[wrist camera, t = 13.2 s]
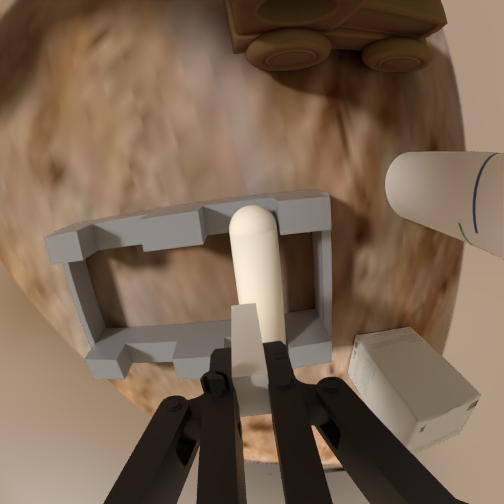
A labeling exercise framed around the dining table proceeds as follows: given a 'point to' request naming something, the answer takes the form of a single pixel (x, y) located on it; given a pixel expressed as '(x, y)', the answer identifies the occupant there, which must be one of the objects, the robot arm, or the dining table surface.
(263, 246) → the cream round-ended rod
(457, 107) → the dining table surface
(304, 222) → the grey notched frame
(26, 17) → the dining table surface
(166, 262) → the dining table surface
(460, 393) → the skincare box
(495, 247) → the cylindrical container
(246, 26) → the wooden toy train
